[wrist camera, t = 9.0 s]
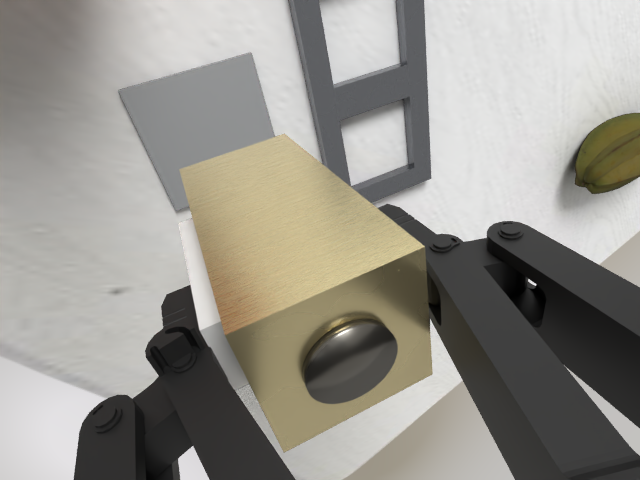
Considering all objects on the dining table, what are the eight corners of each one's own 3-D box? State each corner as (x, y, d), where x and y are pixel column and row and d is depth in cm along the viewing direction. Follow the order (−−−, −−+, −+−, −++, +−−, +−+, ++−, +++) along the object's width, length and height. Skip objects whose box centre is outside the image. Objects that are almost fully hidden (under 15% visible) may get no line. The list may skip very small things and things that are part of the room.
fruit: (611, 76, 41) (680, 85, 36) (654, 118, 48) (719, 131, 42) (548, 174, 45) (603, 195, 40) (596, 200, 51) (649, 222, 46)
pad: (175, 208, 30) (175, 210, 30) (118, 89, 25) (117, 90, 25) (283, 170, 32) (284, 171, 32) (250, 52, 27) (251, 52, 26)
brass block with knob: (218, 258, 20) (287, 462, 11) (179, 169, 17) (227, 344, 8) (307, 222, 21) (438, 381, 12) (284, 133, 18) (432, 252, 9)
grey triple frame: (333, 211, 36) (337, 215, 35) (236, -248, 20) (240, -259, 19) (424, 174, 38) (431, 178, 37) (402, -267, 22) (412, -277, 21)
